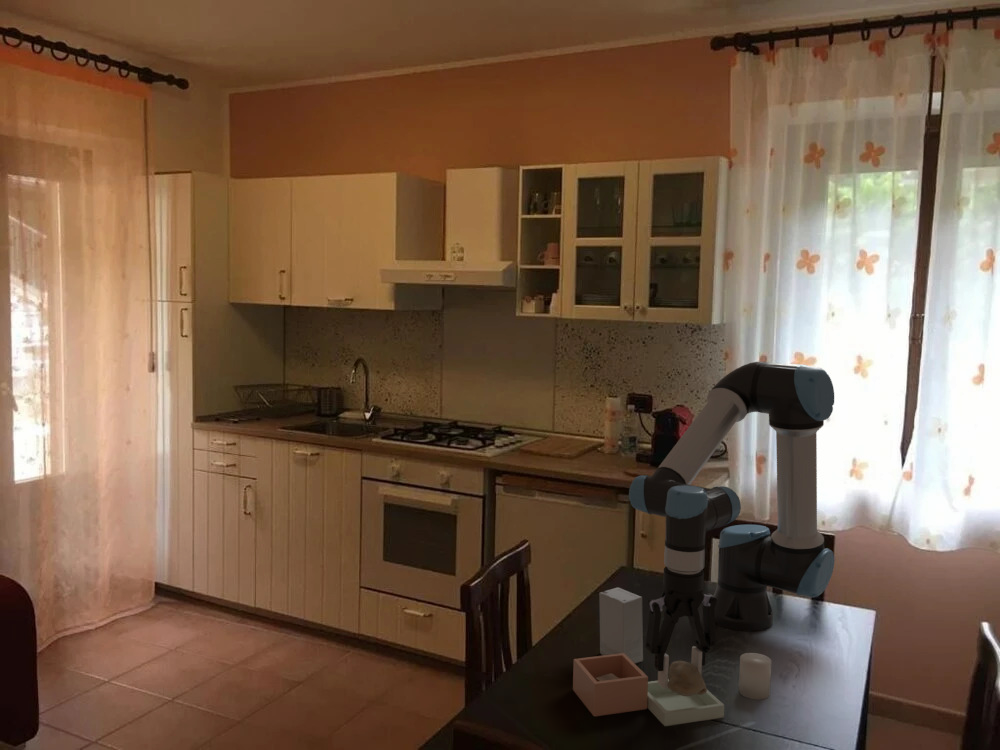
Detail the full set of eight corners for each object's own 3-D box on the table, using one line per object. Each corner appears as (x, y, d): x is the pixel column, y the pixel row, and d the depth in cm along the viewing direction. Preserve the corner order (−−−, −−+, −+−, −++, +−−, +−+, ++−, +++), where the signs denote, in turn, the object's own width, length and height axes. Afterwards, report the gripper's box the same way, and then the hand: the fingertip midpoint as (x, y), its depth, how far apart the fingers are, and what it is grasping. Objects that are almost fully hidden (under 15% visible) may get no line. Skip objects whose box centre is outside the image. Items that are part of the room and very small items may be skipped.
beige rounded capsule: (758, 683, 177) (760, 651, 177) (775, 697, 172) (777, 664, 171) (733, 687, 176) (734, 654, 175) (749, 701, 170) (750, 667, 169)
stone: (702, 697, 166) (676, 662, 170) (718, 683, 162) (690, 647, 166) (679, 713, 163) (652, 676, 166) (694, 699, 158) (667, 662, 162)
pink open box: (623, 685, 176) (624, 653, 175) (646, 711, 165) (648, 677, 165) (572, 692, 173) (573, 659, 172) (593, 719, 162) (594, 684, 162)
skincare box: (643, 663, 186) (645, 597, 185) (622, 670, 183) (624, 602, 181) (617, 649, 193) (619, 585, 192) (597, 655, 190) (598, 590, 188)
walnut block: (610, 692, 172) (611, 673, 171) (623, 700, 168) (624, 681, 168) (594, 697, 170) (595, 677, 169) (607, 705, 166) (608, 686, 166)
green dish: (691, 690, 174) (692, 675, 174) (723, 720, 163) (724, 705, 162) (635, 697, 171) (636, 683, 171) (664, 729, 159) (665, 713, 159)
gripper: (718, 557, 170) (713, 669, 172) (628, 565, 165) (625, 680, 167) (739, 570, 163) (733, 686, 165) (646, 578, 157) (642, 698, 160)
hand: (679, 683), depth 166 cm, fingers closed on stone, 6 cm apart
